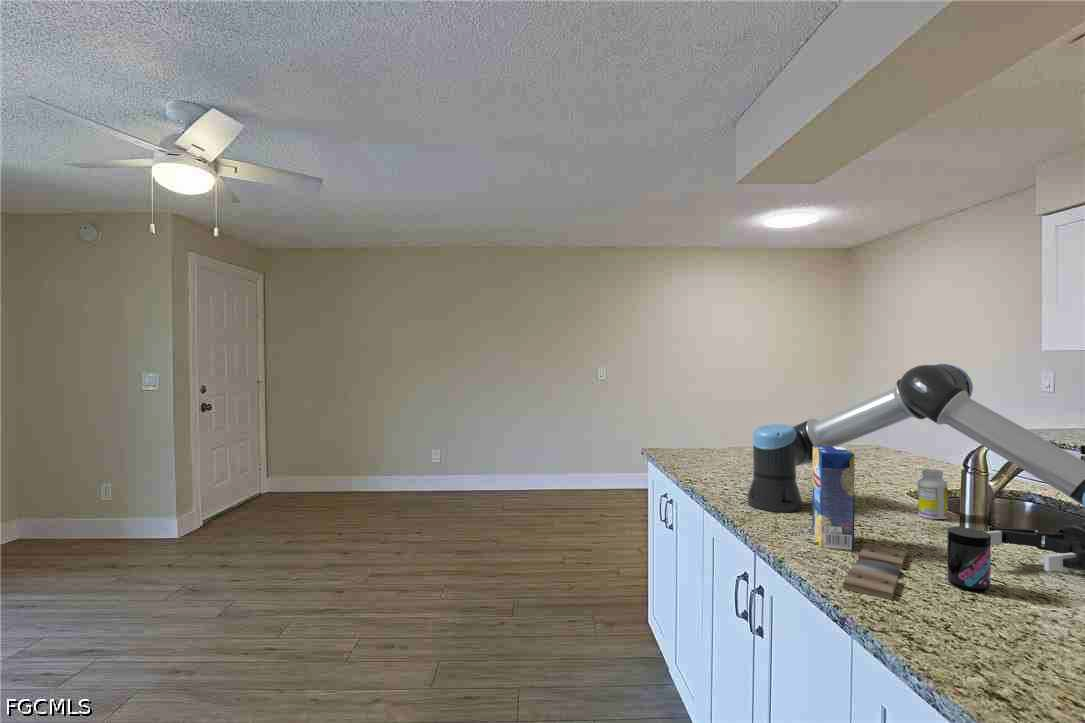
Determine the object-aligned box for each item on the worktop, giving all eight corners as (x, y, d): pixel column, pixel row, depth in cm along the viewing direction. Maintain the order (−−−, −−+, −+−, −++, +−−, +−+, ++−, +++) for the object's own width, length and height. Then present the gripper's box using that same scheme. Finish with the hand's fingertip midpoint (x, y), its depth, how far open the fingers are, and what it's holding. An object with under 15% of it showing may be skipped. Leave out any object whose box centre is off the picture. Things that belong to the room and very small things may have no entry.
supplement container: (948, 588, 107) (949, 534, 107) (944, 576, 113) (945, 525, 113) (993, 596, 104) (994, 540, 103) (987, 583, 109) (987, 530, 109)
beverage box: (842, 535, 139) (842, 446, 138) (854, 550, 128) (854, 454, 128) (812, 533, 140) (812, 445, 140) (821, 547, 130) (821, 452, 130)
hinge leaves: (892, 599, 102) (892, 592, 102) (843, 588, 107) (843, 581, 107) (906, 555, 124) (906, 549, 124) (865, 548, 129) (865, 542, 129)
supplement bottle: (938, 514, 156) (938, 468, 156) (953, 521, 150) (953, 473, 150) (912, 513, 157) (912, 467, 157) (926, 520, 151) (926, 472, 150)
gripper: (1170, 585, 103) (1081, 596, 98) (1026, 541, 127) (949, 548, 122) (1170, 544, 103) (1082, 553, 98) (1026, 508, 127) (949, 514, 122)
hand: (1008, 550), depth 110 cm, fingers open, 13 cm apart
